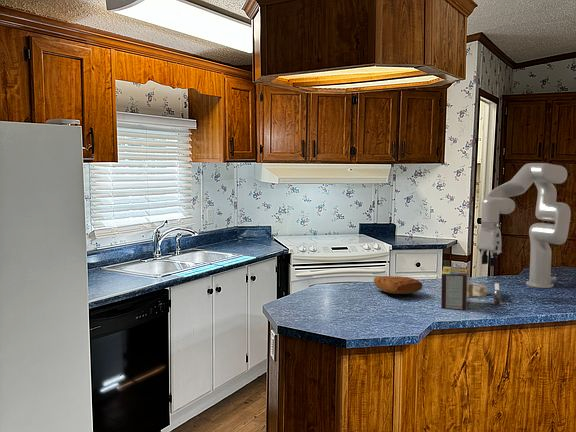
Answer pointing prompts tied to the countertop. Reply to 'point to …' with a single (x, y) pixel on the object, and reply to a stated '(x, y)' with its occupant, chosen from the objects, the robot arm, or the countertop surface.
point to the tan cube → (479, 290)
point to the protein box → (454, 288)
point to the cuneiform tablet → (397, 284)
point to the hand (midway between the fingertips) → (488, 264)
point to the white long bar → (496, 286)
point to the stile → (469, 290)
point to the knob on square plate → (497, 299)
